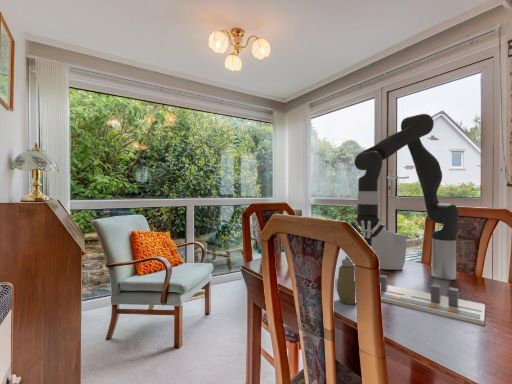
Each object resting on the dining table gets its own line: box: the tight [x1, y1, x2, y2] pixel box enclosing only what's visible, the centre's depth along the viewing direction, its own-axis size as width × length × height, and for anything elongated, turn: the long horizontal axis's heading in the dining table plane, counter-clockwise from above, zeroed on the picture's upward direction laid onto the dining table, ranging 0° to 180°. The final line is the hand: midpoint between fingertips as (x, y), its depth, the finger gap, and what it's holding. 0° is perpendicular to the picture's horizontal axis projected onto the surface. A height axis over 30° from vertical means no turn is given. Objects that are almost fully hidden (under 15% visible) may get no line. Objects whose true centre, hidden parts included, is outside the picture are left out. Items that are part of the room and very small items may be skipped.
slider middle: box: [430, 283, 442, 303], centre depth 97 cm, size 3×2×5 cm
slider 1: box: [379, 274, 389, 291], centre depth 108 cm, size 3×2×5 cm
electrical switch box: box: [371, 228, 408, 271], centre depth 147 cm, size 15×15×20 cm
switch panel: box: [381, 284, 486, 326], centre depth 99 cm, size 16×32×2 cm, turn 51°
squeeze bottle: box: [336, 255, 355, 305], centre depth 100 cm, size 8×8×18 cm
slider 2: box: [448, 286, 459, 306], centre depth 94 cm, size 3×2×5 cm
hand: (367, 247), depth 112 cm, fingers closed
